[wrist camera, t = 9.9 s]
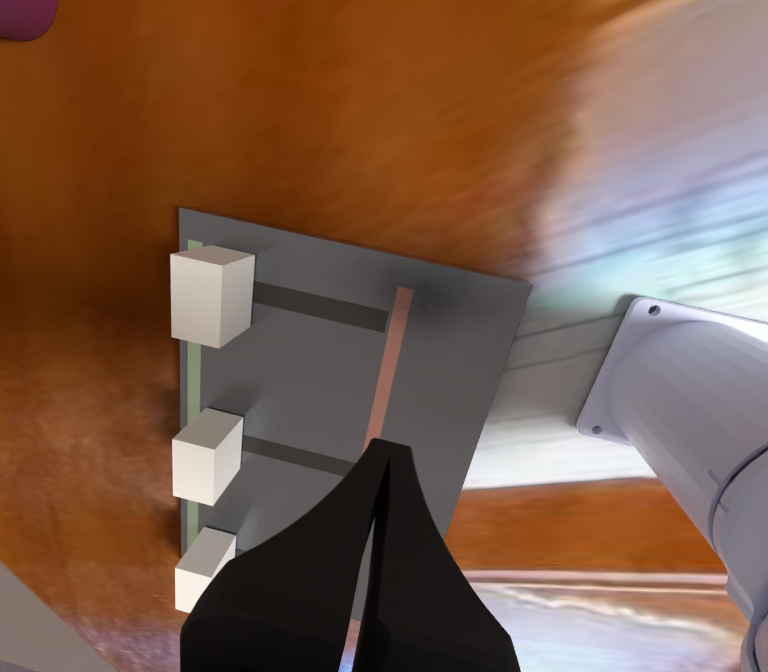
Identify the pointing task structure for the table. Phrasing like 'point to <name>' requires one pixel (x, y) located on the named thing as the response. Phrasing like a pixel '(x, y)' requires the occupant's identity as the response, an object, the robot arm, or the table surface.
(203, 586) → the block
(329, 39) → the table surface
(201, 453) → the breaker mid
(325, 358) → the panel
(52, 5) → the cup
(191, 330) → the breaker
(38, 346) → the table surface
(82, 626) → the table surface
